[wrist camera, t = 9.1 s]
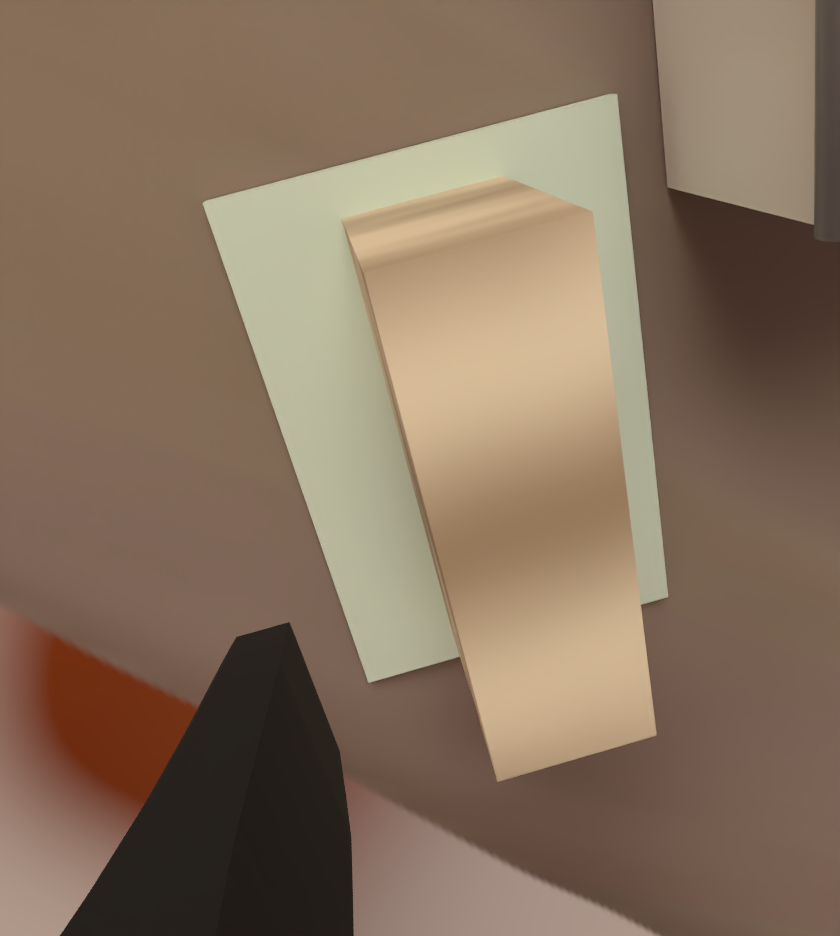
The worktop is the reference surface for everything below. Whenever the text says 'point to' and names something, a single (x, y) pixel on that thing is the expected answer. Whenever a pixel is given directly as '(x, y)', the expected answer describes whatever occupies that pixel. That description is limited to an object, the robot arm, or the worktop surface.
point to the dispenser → (753, 104)
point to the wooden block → (514, 458)
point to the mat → (359, 371)
